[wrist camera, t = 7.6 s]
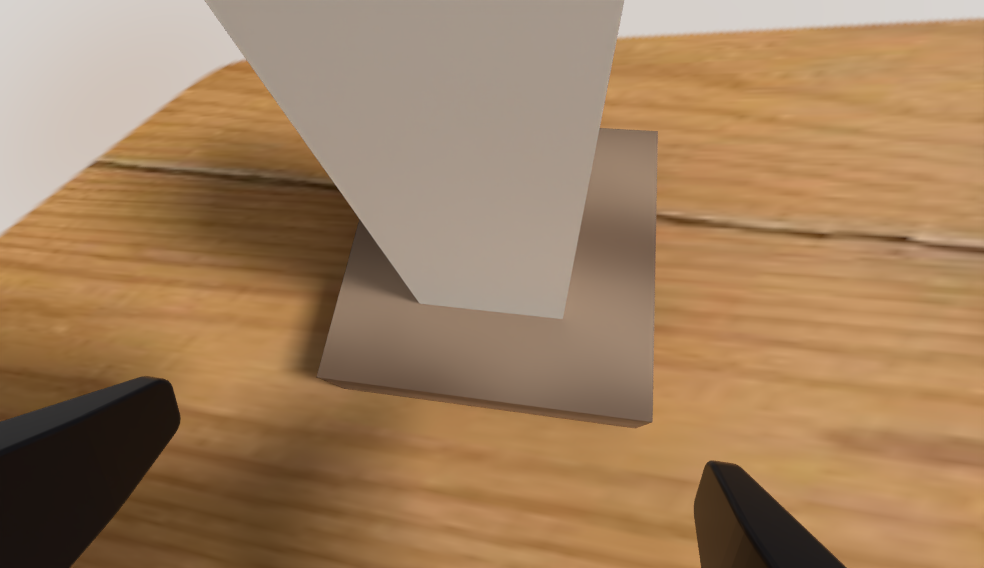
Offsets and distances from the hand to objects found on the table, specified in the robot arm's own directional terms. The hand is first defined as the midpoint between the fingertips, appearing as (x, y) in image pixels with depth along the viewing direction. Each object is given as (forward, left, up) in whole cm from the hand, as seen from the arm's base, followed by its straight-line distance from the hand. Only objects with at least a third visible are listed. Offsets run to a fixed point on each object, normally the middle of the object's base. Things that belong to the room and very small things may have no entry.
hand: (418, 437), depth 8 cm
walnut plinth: (+5, +5, -10) cm, 12 cm away
